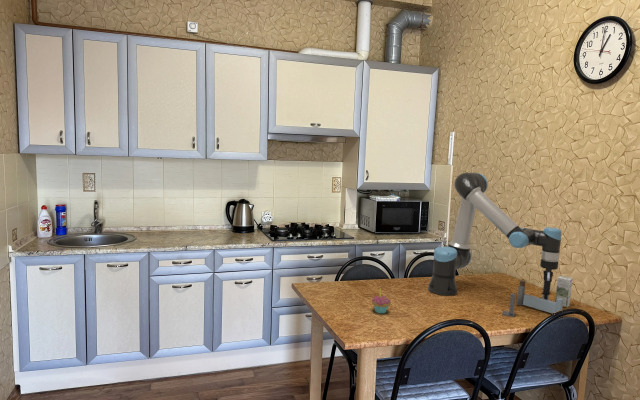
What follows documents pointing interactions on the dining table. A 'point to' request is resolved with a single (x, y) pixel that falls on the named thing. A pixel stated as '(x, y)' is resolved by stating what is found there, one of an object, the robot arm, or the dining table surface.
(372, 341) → the dining table surface
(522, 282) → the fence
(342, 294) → the dining table surface
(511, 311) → the post
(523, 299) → the gate
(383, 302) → the cupcake
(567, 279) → the syrup box
